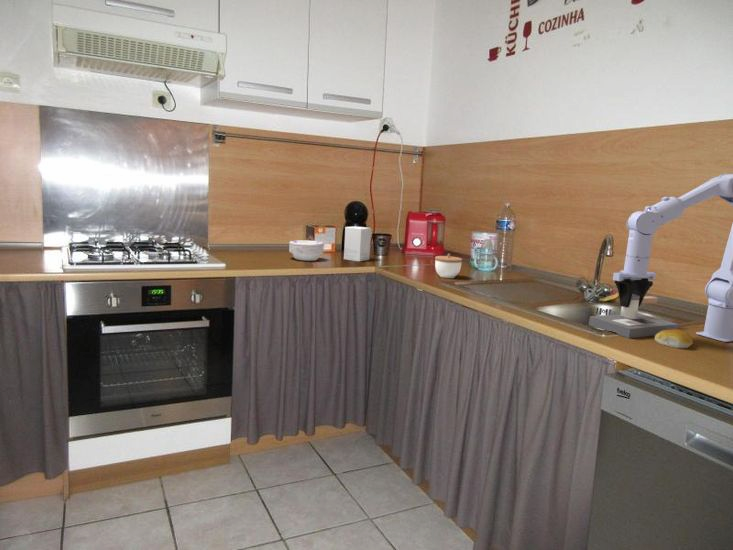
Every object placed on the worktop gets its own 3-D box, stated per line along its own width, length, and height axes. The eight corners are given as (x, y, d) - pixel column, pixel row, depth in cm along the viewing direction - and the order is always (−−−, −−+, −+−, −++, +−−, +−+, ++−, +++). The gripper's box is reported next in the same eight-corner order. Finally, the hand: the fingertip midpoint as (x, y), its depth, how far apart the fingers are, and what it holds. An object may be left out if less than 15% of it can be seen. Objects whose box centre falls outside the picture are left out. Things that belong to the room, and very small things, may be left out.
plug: (626, 314, 150) (629, 293, 149) (639, 317, 146) (643, 296, 145) (617, 315, 148) (620, 293, 147) (630, 318, 144) (633, 296, 143)
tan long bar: (626, 304, 153) (627, 299, 153) (619, 302, 156) (620, 297, 155) (657, 303, 158) (658, 298, 157) (649, 301, 160) (650, 296, 160)
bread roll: (694, 344, 139) (697, 329, 139) (686, 351, 133) (689, 335, 132) (659, 337, 145) (661, 322, 144) (650, 343, 138) (652, 328, 137)
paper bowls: (286, 256, 245) (286, 239, 243) (319, 257, 249) (319, 240, 248) (291, 261, 230) (292, 243, 229) (326, 262, 235) (327, 244, 234)
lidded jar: (429, 276, 216) (431, 253, 214) (439, 273, 225) (441, 251, 224) (455, 280, 211) (457, 256, 209) (463, 277, 220) (466, 254, 219)
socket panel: (635, 320, 161) (638, 301, 160) (677, 332, 150) (680, 311, 149) (588, 325, 152) (591, 304, 151) (628, 338, 141) (632, 315, 140)
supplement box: (370, 260, 250) (372, 227, 248) (359, 261, 243) (361, 228, 240) (353, 257, 255) (355, 225, 252) (343, 259, 247) (344, 226, 245)
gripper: (642, 254, 151) (635, 301, 153) (606, 254, 144) (599, 304, 147) (665, 258, 145) (657, 307, 147) (629, 258, 138) (621, 310, 141)
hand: (630, 306), depth 146 cm, fingers closed on plug, 4 cm apart
